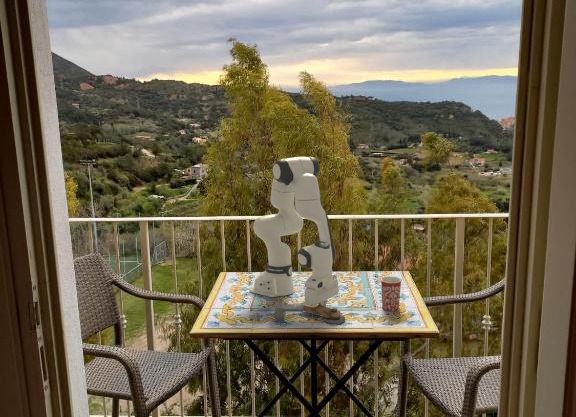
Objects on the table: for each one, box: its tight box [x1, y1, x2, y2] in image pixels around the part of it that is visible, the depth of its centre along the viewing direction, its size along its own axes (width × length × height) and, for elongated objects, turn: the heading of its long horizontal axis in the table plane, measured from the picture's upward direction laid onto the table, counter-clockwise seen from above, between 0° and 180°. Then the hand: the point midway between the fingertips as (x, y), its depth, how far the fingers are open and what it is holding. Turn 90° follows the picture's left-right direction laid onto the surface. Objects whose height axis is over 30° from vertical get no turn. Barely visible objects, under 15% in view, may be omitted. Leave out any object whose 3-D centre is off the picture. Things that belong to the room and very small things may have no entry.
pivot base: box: [323, 314, 346, 325], centre depth 224 cm, size 9×9×1 cm
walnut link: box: [300, 301, 341, 320], centre depth 228 cm, size 20×5×4 cm, turn 49°
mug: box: [380, 276, 403, 312], centre depth 236 cm, size 13×9×14 cm
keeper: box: [273, 301, 304, 323], centre depth 225 cm, size 12×7×6 cm, turn 84°
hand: (322, 309), depth 232 cm, fingers closed
